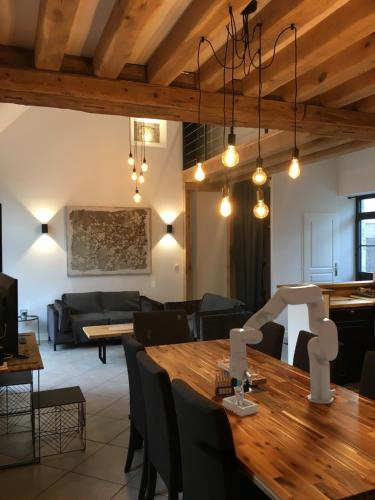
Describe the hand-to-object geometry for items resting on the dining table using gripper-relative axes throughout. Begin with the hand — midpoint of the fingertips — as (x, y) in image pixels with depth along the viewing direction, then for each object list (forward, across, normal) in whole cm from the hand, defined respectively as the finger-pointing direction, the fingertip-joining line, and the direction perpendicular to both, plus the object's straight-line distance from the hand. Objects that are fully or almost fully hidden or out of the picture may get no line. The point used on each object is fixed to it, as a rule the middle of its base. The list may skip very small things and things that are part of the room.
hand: (240, 389), depth 208 cm
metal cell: (+8, 0, -1) cm, 8 cm away
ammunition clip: (+10, -20, +4) cm, 23 cm away
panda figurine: (+10, -22, +16) cm, 29 cm away
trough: (+9, 0, -1) cm, 9 cm away
